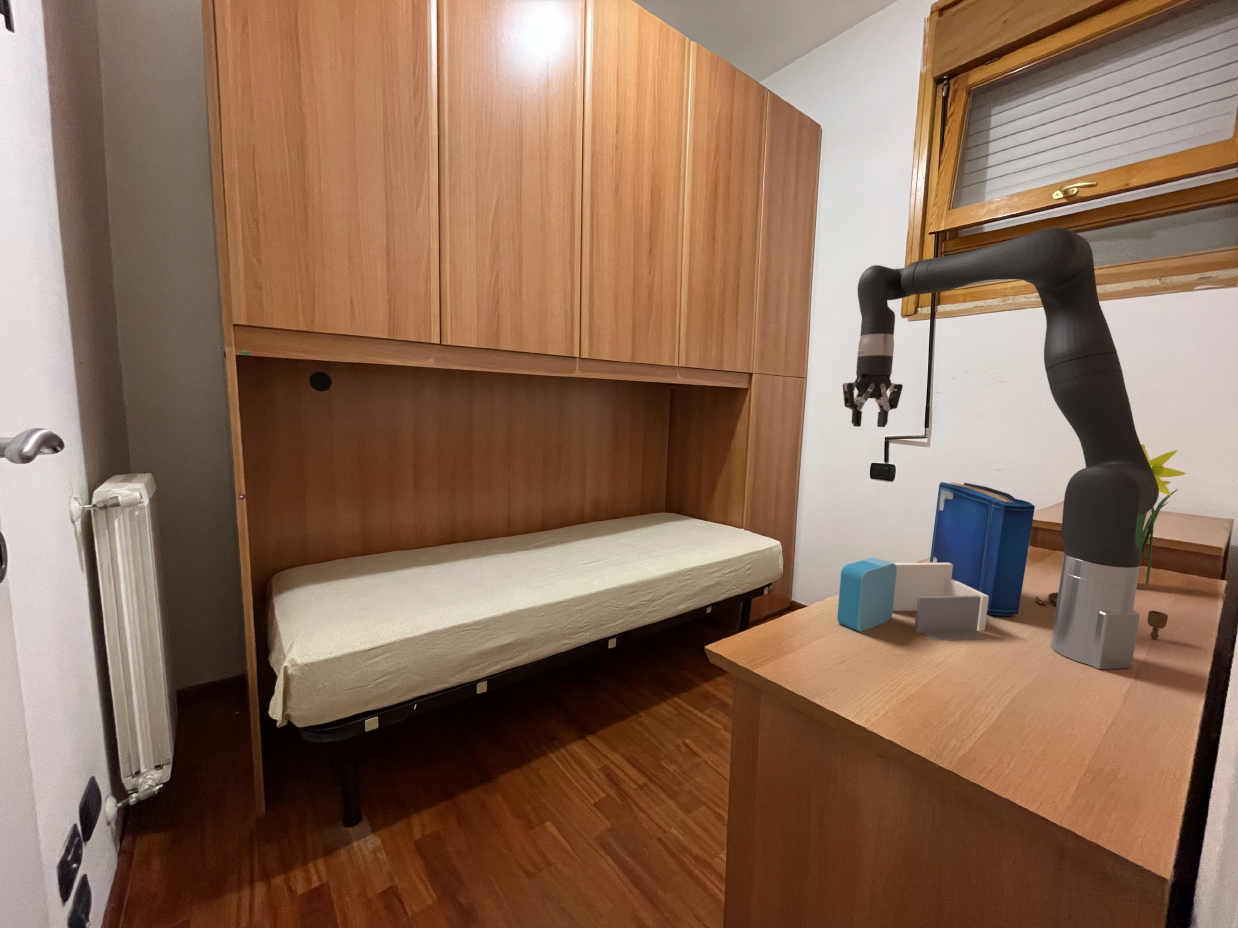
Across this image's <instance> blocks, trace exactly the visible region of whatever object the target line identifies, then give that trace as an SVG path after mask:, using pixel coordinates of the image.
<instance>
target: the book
mask: <svg viewBox="0 0 1238 928" xmlns="http://www.w3.org/2000/svg"><path fill="white" fill-rule="evenodd" d="M935 508H936V509H935V517H934V525H933V532H932V533H933V534H932V540H931V541H932V543H931V549H930V550H931V551H930V556H929V557H930V558H929V563H951V564H953V568H952V577H951V578H952V579H954V580H956V581H958V582H960V583H962V584H964V585H966V586H969V587H971V588H973V589H975V590H977V591H979V592H981V593H983V594H986V595H988V596H989V599H988V607H987V614H988V615H989V616H990V615H991V616H997V617H1010V616H1014V615H1018V614H1019V609H1020V604H1021V599H1022V592H1023V591H1022V590H1023V585H1024V578H1025V573H1026V566H1027V559H1028V554H1029V547H1030V540H1031V534H1032V528H1033V521H1034V515H1035V509H1036V506H1035V505H1034V504H1033V503H1031V502H1030V501H1026V500H1023V499H1018V498H1015V497H1014V496H1013V495H1011V494H1010V493H1008V492H1004V491H1001V490H997V489H994V488H991V487H988V486H984V485H979V484H974V483H969V482H964V483H963V484H961V483H957V482H949V483H948V482H944V481H941V482H940V483H939V485H938V492H937V500H936V507H935Z"/></svg>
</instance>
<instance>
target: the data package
mask: <svg viewBox="0 0 1238 928" xmlns="http://www.w3.org/2000/svg"><path fill="white" fill-rule="evenodd" d="M894 563H895V562H890V561H887V560H883V559H880V558H876V557H869V558H866V559H862V560H859V561H855V562H852V563H847V564H844V566H843V567H842V569H841V572H840V578H839V579H840V582H839V590H838V591H839V593H838V605H837V617H836V618H837V619H836V620H837V622H838V623H839V624H840V625H842V626H844V625H845V627H847V628H849V629H852V630H854V631H857V632H859V633H862V631H863V632H865V631H868V630H869V628H870V629H873V628H875V627H878V626H880V625H882V624H884V622H885V623H888V622H889V621H890V620H891V618H892V616H893V613H894V611H893V603H894V592H895V582H896V571H897V568H896V565H895V564H894ZM881 623H882V624H881ZM879 624H880V625H879ZM874 626H875V627H874ZM867 629H868V630H867Z"/></svg>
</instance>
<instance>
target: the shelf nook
mask: <svg viewBox="0 0 1238 928" xmlns="http://www.w3.org/2000/svg"><path fill="white" fill-rule="evenodd" d="M893 563H894V564H895V565H896V568H897V571H896V582H895V592H894V603H893V612H904V611H905V612H907V611H909V612H911V611H912V612H913V611H914V612H915V621H914V622H915V623H914V632H915V633H920V634H924V635H925V636H927V637H929V638H930V639H931V640H933V641H948V640H949V641H950V640H951V641H952V640H953V641H954V640H956V641H957V640H960V641H961V640H985V639H986V638H985V637H983V636H981V635H980V634H978V633H977V631H985V630H986V625H987V624H986V623H987V616H988V615H987V614H988V613H987V607H988V599H989V596H988V595H986V594H983V593H981V592H979V591H977V590H975V589H973V588H971V587H969V586H966V585H964V584H962V583H960V582H958V581H956V580H954V579H952V578H951V577H952V568H953V564H951V563H930V562H893Z"/></svg>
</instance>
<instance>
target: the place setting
mask: <svg viewBox="0 0 1238 928" xmlns="http://www.w3.org/2000/svg"><path fill="white" fill-rule="evenodd" d="M1034 597H1035V601H1034V602H1035V603H1036V604H1038V605H1040V606H1045V605H1047V602H1045V601H1043V600H1042V599H1041V598H1039V596H1034ZM1057 598H1058V592H1051V593H1049V594H1048V600H1049V602H1050V603H1051V604H1052V605H1053V606H1054V607H1056V605H1057V601H1056V600H1057ZM1168 618H1169V615H1168V614H1167V613H1165V612H1163V611H1162V612H1161V611H1158V610H1149V611H1148V613H1147V624H1148V625H1149V627H1152V629H1151V630H1152V631H1151V632H1150V633H1149V634H1150V637H1151V638H1150V639H1151V640H1154V641H1158V640H1157V639H1158V638H1159V636H1160V634H1159V631H1160V629H1161V630H1162V629H1164V628H1165V627H1166V626H1167V623H1168Z"/></svg>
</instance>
